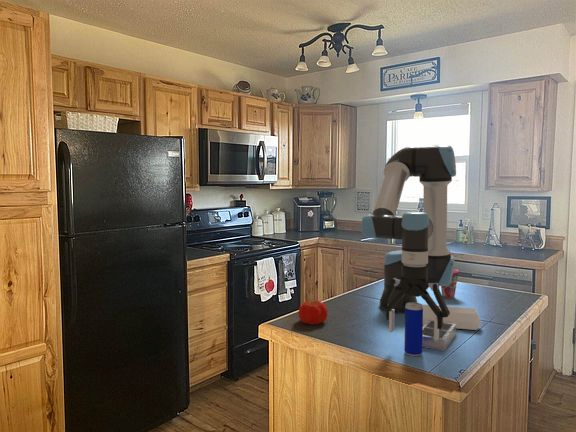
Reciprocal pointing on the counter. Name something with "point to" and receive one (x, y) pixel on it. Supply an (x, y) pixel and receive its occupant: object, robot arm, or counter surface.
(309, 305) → the tomato
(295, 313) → the counter surface
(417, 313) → the beverage can
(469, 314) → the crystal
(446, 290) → the cup
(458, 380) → the counter surface
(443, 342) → the divided tray
